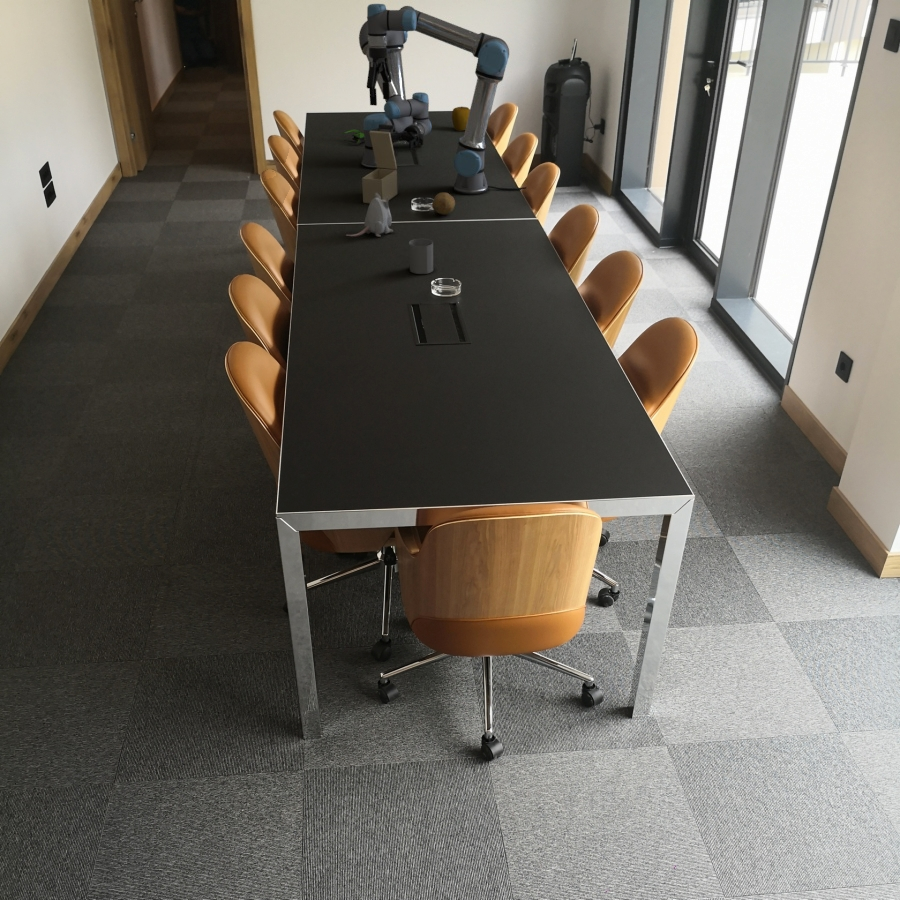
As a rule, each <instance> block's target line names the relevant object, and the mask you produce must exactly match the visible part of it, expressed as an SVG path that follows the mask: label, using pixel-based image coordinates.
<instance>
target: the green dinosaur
mask: <svg viewBox="0 0 900 900" xmlns="http://www.w3.org/2000/svg"><path fill="white" fill-rule="evenodd" d="M351 132H352V134H351V136H352V140H353V141H355V142H351V141H347V140H344V139H343V142H345V143H346V144H348V145H352V146H359V145H360V144H361V143H365V141H364V132H362V131H361V130H360V129H349V130H346V131H345V132H344V134H347V133H351ZM353 132H356V133H354V134H353ZM397 142H399V141H398V140H395V141H392V143H397Z"/></svg>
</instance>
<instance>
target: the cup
mask: <svg viewBox="0 0 900 900" xmlns="http://www.w3.org/2000/svg"><path fill="white" fill-rule="evenodd" d="M408 253H409V272H411V273H412V274H416V275H426V274H430V273H432V272H434V241H433V240H431V239H428V238H422V237H421V238H420V237H419V238H414V239H411V240H410V241H409V242H408Z"/></svg>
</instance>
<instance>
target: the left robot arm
mask: <svg viewBox="0 0 900 900" xmlns="http://www.w3.org/2000/svg"><path fill="white" fill-rule="evenodd" d="M408 36H409V35H408V32H406V31H387V46H386V47H387V58H388V65H389V70H390V74H391V82H389V92H390V99H384V101H385V103H384V105H383V111H384V113H383V112H379V113H372V114H369V115H367V116H365V117H364V119H363V133H364V151H363V155H362V159H361V166H362V167H363V168H366V169H371V170H376V169H377V165H376V160H375V156H374V151H373V147H372V142H371V138H370V133H369V132H370V131H377V129H378V128H379V124H382V125H394V126H395V129H394V130H393V131H392V132H391V134H390V135H391V140H392V141H395V140H399V141H398V142H403V141H404V142H406V143H408V144H409V145H408V148H409V149H413V148H414V147H416V146H419V145H421V146H424V137H426V136H427V135H429V133H430V132H431V131H432V126H433V125H432V123H431V120H430V119H429V111H430V109H429V106H430V100H429V95H428V93H426V92H419V91H418V92H414V93H412V96H411V98H408V99H407V95H406V86H405V77H404V67H403V59H402V58H403V57H402V51H403V50H404V48H405V44H406V43H407V41H408V38H409V37H408ZM358 42H359V47H360V51H361V53H362V54H363V55H364V56H366V58H367V61H368V63H369V62H373V59H372V58H370V57H369V47H370V46H369V41H368V22H367V20H366V21H365V22H364V23H363V24H362V25H361V28H360V29H359V33H358ZM388 77H389V76H388ZM383 82H384V81H383V79H382V76H381V74H380V73H379V74H378V78H377V82H376V83H377V84H378V87H379V90H380V92H381V94H382V95H383ZM380 131H381V132H389V131H390V130H386V129H380ZM394 155H395V156H397V151H396V150H394ZM380 169H383V168H380Z"/></svg>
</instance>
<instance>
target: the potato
mask: <svg viewBox="0 0 900 900" xmlns="http://www.w3.org/2000/svg"><path fill="white" fill-rule="evenodd" d="M455 206H456V200H455V198H454V196H452V195H451V194H449V193H448V192H439V193H437V194H436V195H435V197H434V198H433V200H432V201H431V207H432V209H433V210H434V212H436V213H437V214H439V215H441V216H442V215H449V214H450V213H452V212H453V211H454V209H455Z"/></svg>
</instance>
